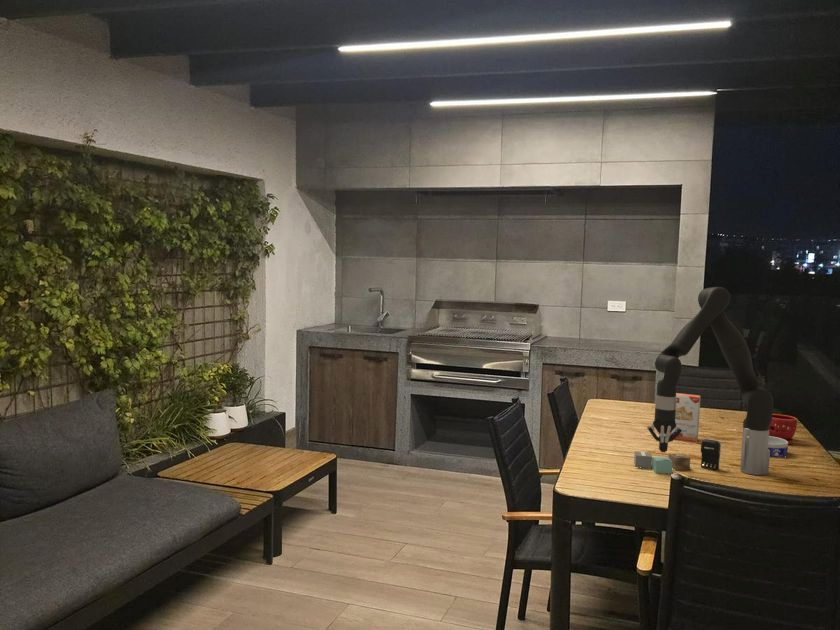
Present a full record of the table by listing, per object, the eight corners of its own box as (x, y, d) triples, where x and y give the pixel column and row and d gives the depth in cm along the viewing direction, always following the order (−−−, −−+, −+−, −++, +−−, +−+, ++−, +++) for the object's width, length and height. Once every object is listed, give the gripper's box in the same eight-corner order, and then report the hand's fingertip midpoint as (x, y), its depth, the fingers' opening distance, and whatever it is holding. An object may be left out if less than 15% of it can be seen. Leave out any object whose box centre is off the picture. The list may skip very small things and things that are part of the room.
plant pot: (799, 446, 316) (801, 420, 315) (768, 444, 319) (769, 418, 318) (790, 439, 329) (792, 414, 328) (760, 437, 332) (761, 412, 331)
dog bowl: (765, 459, 295) (766, 444, 294) (739, 449, 309) (740, 435, 309) (795, 457, 299) (796, 443, 298) (768, 447, 313) (769, 434, 313)
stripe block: (649, 465, 280) (650, 452, 280) (651, 469, 275) (652, 456, 274) (634, 463, 282) (634, 451, 281) (635, 468, 276) (635, 455, 275)
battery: (698, 467, 278) (700, 439, 277) (701, 465, 281) (703, 437, 280) (716, 471, 274) (718, 442, 273) (720, 469, 277) (721, 440, 276)
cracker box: (664, 438, 325) (666, 393, 323) (666, 435, 330) (668, 391, 328) (696, 442, 318) (699, 397, 316) (698, 440, 323) (700, 395, 322)
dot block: (682, 466, 280) (683, 453, 280) (689, 470, 274) (690, 457, 274) (668, 466, 280) (668, 453, 279) (674, 470, 274) (675, 457, 274)
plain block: (667, 469, 274) (668, 457, 274) (671, 474, 269) (672, 461, 268) (651, 469, 275) (652, 456, 275) (655, 473, 269) (656, 460, 269)
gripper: (680, 406, 273) (677, 450, 275) (645, 404, 274) (643, 448, 275) (686, 410, 266) (683, 455, 267) (650, 408, 267) (647, 453, 268)
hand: (662, 451), depth 271 cm, fingers closed
